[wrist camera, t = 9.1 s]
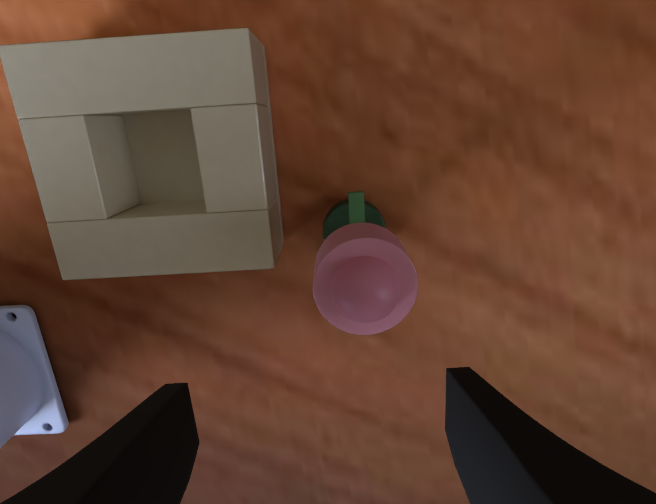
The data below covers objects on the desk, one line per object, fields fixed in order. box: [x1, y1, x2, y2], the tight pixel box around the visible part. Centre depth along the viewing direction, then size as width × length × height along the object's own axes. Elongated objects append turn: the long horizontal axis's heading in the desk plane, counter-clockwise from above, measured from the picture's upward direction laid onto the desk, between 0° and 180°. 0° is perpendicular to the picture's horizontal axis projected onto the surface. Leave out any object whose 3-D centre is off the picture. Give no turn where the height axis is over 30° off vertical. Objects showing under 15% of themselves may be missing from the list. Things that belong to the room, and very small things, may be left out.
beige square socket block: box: [0, 28, 284, 280], centre depth 18 cm, size 9×9×4 cm
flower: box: [313, 191, 418, 335], centre depth 16 cm, size 3×4×9 cm
